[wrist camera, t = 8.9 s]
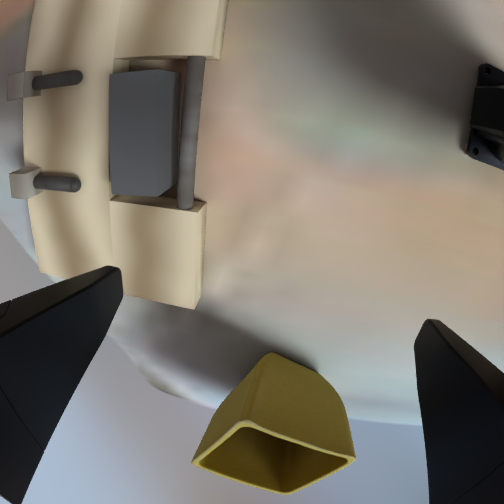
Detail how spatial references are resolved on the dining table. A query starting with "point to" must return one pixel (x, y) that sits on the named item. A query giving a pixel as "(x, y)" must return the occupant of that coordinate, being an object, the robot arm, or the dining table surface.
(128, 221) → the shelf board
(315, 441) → the flower pot
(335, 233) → the dining table surface
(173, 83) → the dark grey chamfered block
